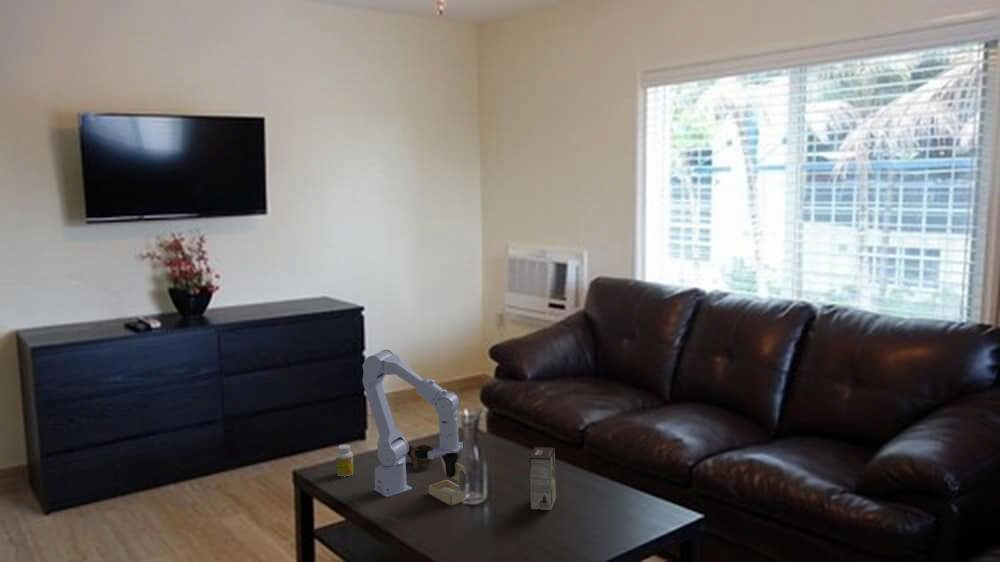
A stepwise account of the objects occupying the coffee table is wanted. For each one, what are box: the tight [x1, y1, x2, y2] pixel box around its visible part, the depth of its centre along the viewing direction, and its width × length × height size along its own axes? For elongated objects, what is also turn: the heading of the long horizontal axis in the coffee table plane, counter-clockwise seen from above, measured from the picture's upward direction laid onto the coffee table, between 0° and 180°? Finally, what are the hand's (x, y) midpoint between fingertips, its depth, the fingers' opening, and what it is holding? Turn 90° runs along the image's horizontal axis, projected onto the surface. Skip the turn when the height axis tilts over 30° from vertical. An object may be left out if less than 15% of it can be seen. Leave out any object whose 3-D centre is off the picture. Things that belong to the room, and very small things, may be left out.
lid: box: [440, 456, 468, 482], centre depth 242 cm, size 7×12×1 cm
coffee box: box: [529, 446, 557, 511], centre depth 235 cm, size 9×6×16 cm
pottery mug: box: [406, 443, 437, 470], centre depth 270 cm, size 12×10×8 cm
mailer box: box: [428, 479, 467, 506], centre depth 242 cm, size 7×12×3 cm, turn 38°
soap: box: [439, 487, 457, 496], centre depth 241 cm, size 3×5×2 cm, turn 48°
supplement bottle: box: [336, 444, 355, 478], centre depth 262 cm, size 5×5×10 cm
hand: (450, 476), depth 241 cm, fingers closed
